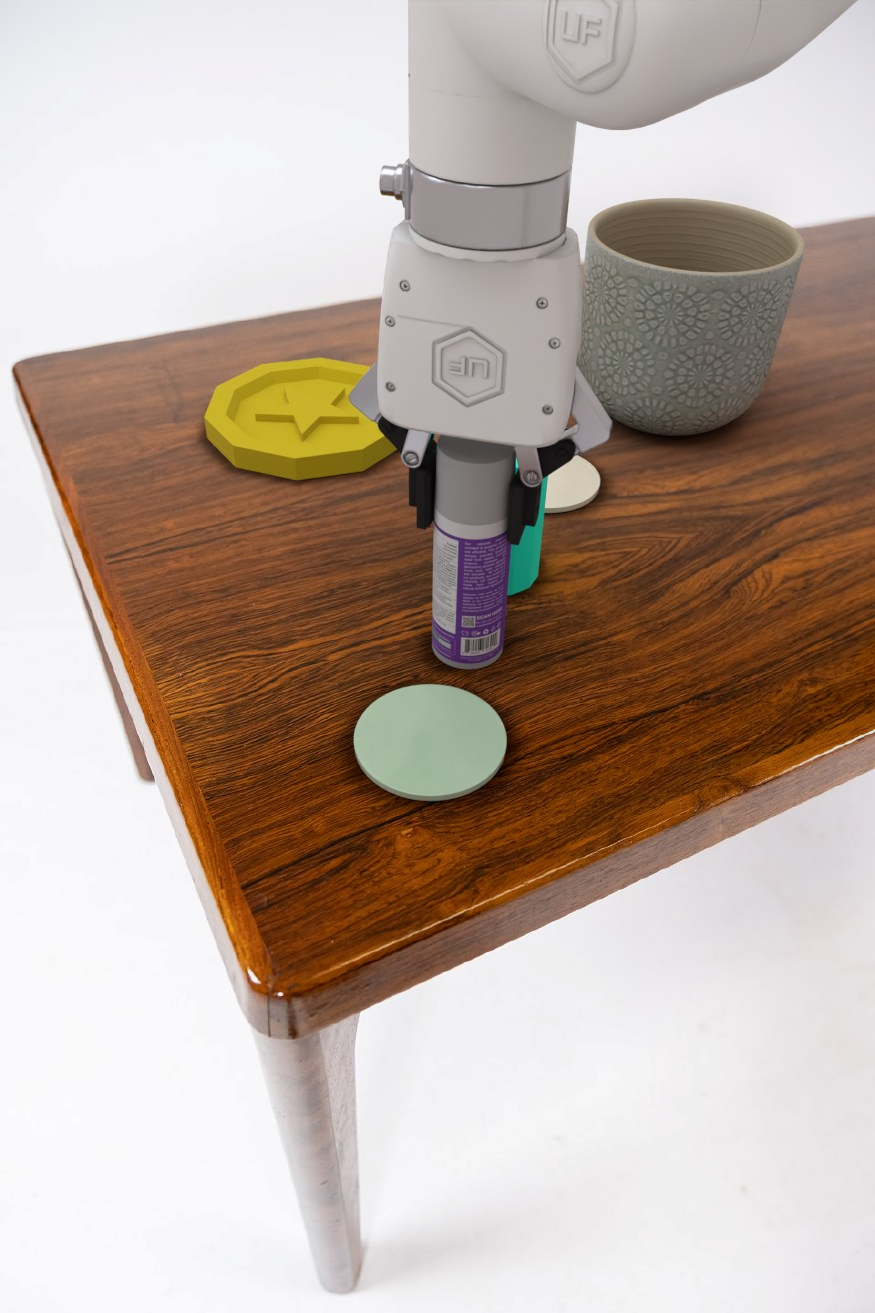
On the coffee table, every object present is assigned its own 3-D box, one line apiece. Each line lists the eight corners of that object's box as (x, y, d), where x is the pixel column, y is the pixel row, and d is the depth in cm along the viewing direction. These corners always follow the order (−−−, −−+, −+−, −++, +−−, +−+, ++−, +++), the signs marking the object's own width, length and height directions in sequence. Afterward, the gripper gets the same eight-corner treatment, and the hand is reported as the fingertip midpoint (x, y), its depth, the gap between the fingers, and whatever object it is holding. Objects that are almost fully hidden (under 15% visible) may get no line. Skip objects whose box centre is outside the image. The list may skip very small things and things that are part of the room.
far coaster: (607, 461, 84) (608, 456, 83) (590, 521, 77) (590, 516, 77) (500, 445, 85) (501, 440, 85) (475, 502, 79) (475, 497, 78)
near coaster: (520, 705, 62) (521, 700, 62) (486, 816, 56) (487, 810, 55) (380, 677, 64) (380, 671, 64) (332, 782, 57) (331, 776, 57)
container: (510, 629, 67) (527, 429, 57) (494, 676, 64) (508, 471, 54) (442, 616, 68) (447, 416, 58) (423, 661, 65) (424, 457, 55)
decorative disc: (435, 460, 83) (435, 439, 82) (219, 491, 79) (216, 468, 78) (385, 370, 95) (385, 349, 94) (196, 392, 91) (193, 371, 90)
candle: (443, 553, 74) (447, 403, 66) (520, 539, 75) (533, 391, 67) (470, 602, 70) (477, 449, 62) (551, 587, 71) (568, 435, 63)
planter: (779, 390, 93) (825, 218, 83) (731, 477, 82) (776, 290, 72) (606, 350, 99) (629, 185, 89) (539, 426, 88) (555, 247, 77)
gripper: (289, 209, 47) (315, 535, 59) (661, 251, 43) (606, 587, 56) (344, 161, 52) (357, 469, 64) (677, 195, 49) (624, 513, 61)
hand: (473, 521), depth 60 cm, fingers closed on container, 4 cm apart
